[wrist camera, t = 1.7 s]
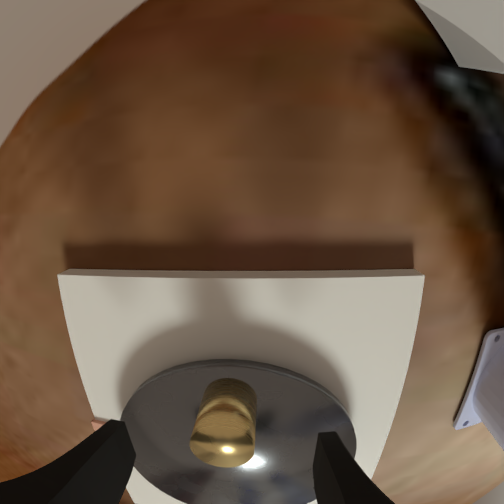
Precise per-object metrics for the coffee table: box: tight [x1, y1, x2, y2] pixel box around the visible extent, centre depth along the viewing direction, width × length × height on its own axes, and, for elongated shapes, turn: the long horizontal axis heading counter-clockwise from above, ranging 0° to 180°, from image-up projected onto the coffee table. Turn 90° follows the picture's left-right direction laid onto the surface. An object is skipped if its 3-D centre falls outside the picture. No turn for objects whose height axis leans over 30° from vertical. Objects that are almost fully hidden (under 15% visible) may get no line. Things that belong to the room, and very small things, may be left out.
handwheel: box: [120, 359, 357, 504], centre depth 13 cm, size 13×13×4 cm
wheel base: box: [58, 269, 425, 504], centre depth 16 cm, size 18×20×2 cm
